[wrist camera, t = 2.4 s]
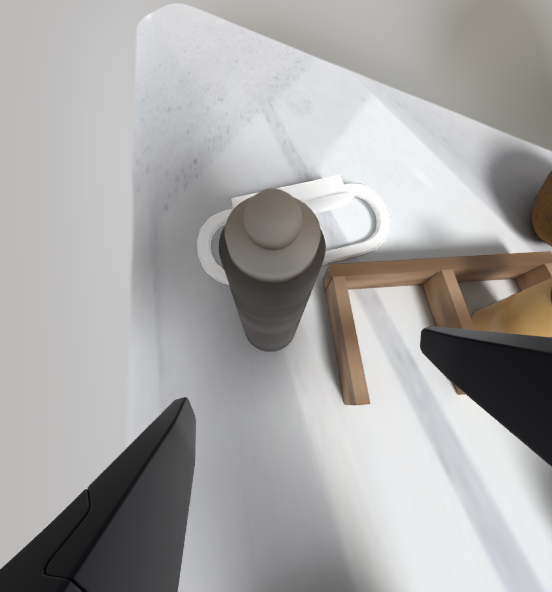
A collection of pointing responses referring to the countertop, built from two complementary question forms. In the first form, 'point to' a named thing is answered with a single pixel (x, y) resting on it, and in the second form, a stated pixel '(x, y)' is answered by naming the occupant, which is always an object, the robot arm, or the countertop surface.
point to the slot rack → (438, 288)
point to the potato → (543, 212)
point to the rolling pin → (318, 199)
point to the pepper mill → (271, 264)
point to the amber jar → (519, 313)
